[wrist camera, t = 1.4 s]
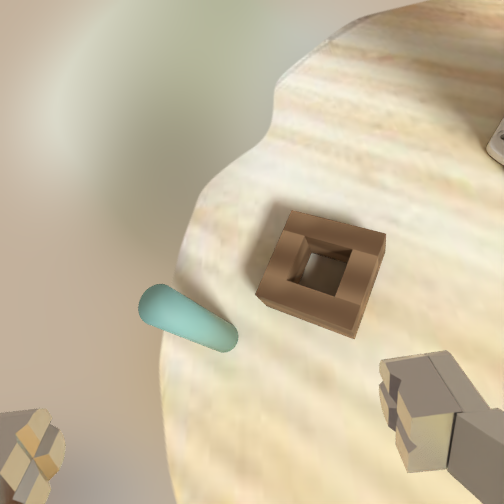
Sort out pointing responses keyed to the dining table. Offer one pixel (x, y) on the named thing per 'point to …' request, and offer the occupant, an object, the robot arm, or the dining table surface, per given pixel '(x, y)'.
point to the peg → (186, 318)
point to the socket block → (332, 246)
